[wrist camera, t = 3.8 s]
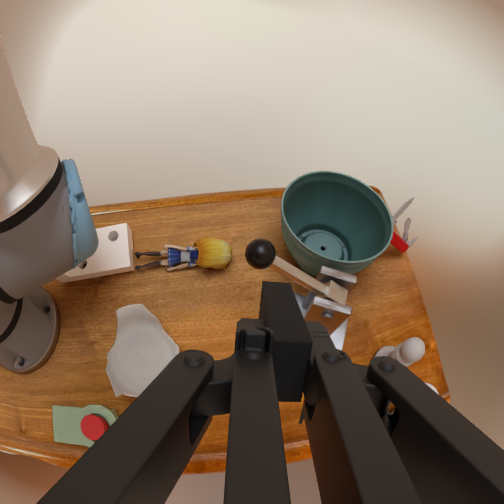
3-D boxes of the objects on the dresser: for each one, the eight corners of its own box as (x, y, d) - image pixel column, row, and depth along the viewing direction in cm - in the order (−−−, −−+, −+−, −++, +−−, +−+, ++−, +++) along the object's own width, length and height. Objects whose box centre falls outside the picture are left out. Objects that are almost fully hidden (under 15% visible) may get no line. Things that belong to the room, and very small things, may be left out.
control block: (58, 444, 30) (47, 443, 28) (56, 403, 34) (45, 400, 31) (128, 451, 32) (121, 452, 29) (124, 407, 35) (116, 405, 33)
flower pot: (264, 217, 53) (271, 170, 44) (350, 212, 55) (370, 170, 46) (281, 304, 45) (295, 268, 36) (378, 292, 47) (409, 256, 38)
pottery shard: (135, 410, 35) (123, 407, 31) (93, 347, 39) (79, 337, 35) (194, 366, 39) (189, 358, 35) (147, 307, 43) (138, 293, 39)
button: (87, 439, 30) (81, 439, 28) (85, 414, 31) (79, 413, 30) (110, 441, 30) (105, 441, 29) (108, 416, 32) (103, 415, 30)
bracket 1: (65, 284, 45) (44, 273, 38) (63, 244, 47) (44, 228, 39) (135, 272, 47) (123, 258, 40) (131, 231, 49) (120, 212, 42)
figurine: (139, 277, 47) (233, 272, 48) (128, 269, 42) (232, 262, 43) (139, 249, 48) (231, 243, 49) (129, 238, 43) (230, 231, 44)
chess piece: (367, 354, 41) (395, 335, 34) (395, 342, 42) (425, 321, 35) (380, 386, 38) (411, 374, 31) (407, 372, 40) (441, 357, 32)
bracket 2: (271, 336, 42) (285, 304, 32) (284, 293, 46) (300, 251, 36) (338, 355, 41) (372, 329, 31) (347, 312, 45) (379, 275, 35)
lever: (235, 264, 33) (249, 253, 30) (245, 240, 34) (259, 228, 32) (328, 316, 36) (347, 310, 33) (333, 293, 38) (351, 285, 35)
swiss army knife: (383, 280, 53) (378, 272, 54) (435, 227, 48) (428, 220, 49) (354, 263, 46) (348, 255, 47) (416, 199, 41) (407, 192, 42)
